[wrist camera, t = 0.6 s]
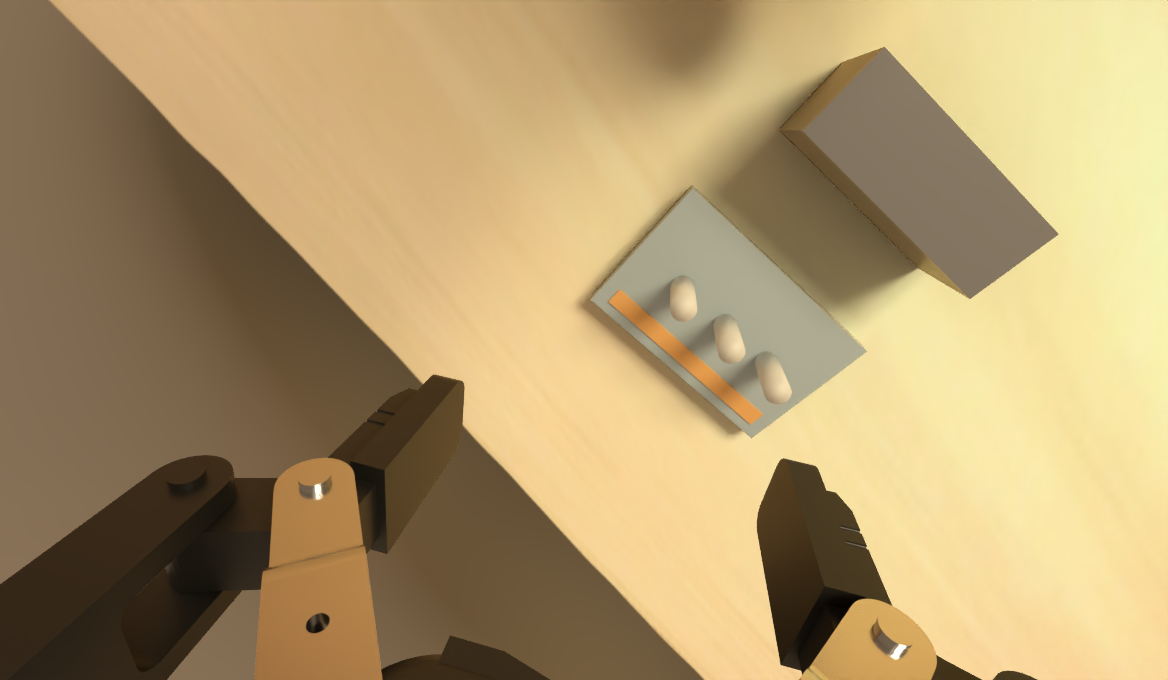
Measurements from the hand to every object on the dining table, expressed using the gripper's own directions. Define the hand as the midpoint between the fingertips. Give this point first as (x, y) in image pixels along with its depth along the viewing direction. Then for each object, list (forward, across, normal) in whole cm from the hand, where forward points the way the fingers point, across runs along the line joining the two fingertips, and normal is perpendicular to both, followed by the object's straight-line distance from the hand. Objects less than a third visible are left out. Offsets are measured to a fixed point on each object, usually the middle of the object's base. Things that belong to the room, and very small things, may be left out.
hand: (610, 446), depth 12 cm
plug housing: (+24, -12, -6) cm, 28 cm away
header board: (+24, -6, +5) cm, 25 cm away
